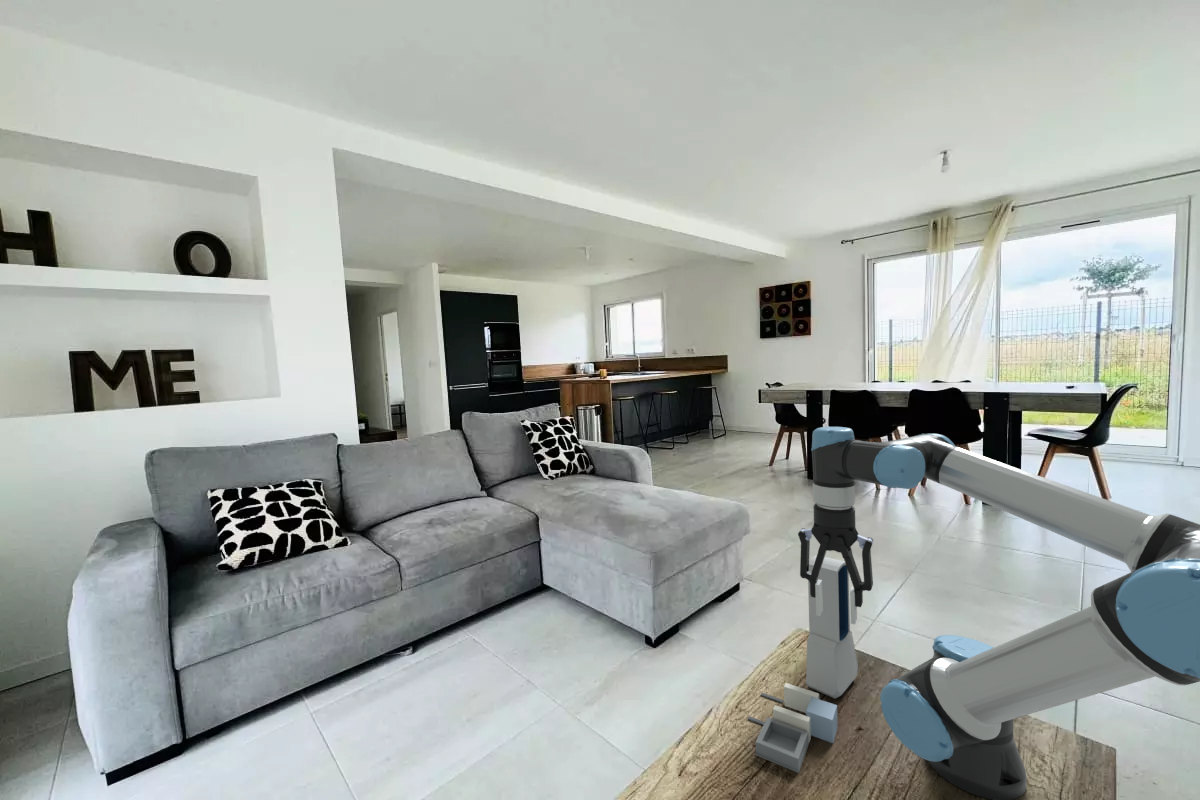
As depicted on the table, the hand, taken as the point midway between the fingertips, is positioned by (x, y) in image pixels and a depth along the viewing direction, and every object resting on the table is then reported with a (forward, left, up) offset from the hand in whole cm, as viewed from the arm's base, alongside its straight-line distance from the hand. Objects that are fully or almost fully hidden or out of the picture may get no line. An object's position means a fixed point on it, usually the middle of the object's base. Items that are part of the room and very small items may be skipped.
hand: (836, 616), depth 98 cm
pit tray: (+9, +10, -25) cm, 28 cm away
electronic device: (+4, -16, -25) cm, 30 cm away
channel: (+8, +1, -25) cm, 26 cm away
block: (+3, +1, -25) cm, 25 cm away
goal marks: (+15, +1, -25) cm, 29 cm away
